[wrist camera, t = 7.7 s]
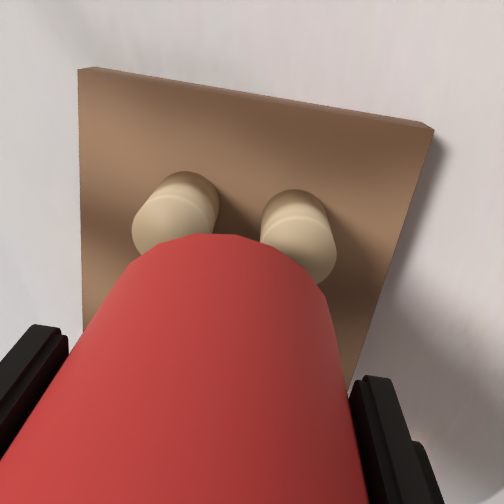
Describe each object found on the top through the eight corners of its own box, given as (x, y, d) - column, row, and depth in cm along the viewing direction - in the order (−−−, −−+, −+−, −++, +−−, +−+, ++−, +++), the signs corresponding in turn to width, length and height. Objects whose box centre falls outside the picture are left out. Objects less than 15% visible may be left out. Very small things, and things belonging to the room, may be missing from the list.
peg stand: (94, 66, 16) (32, 76, 12) (421, 122, 16) (470, 150, 12) (95, 334, 21) (52, 405, 17) (341, 372, 21) (357, 450, 17)
